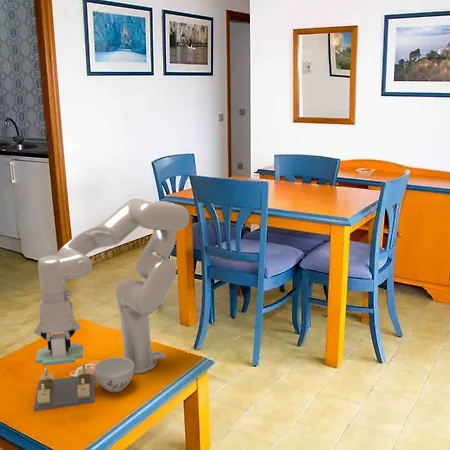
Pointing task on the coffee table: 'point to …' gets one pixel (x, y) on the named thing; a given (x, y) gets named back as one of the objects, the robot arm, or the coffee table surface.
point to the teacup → (114, 373)
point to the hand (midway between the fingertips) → (59, 349)
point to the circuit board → (59, 360)
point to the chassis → (65, 390)
